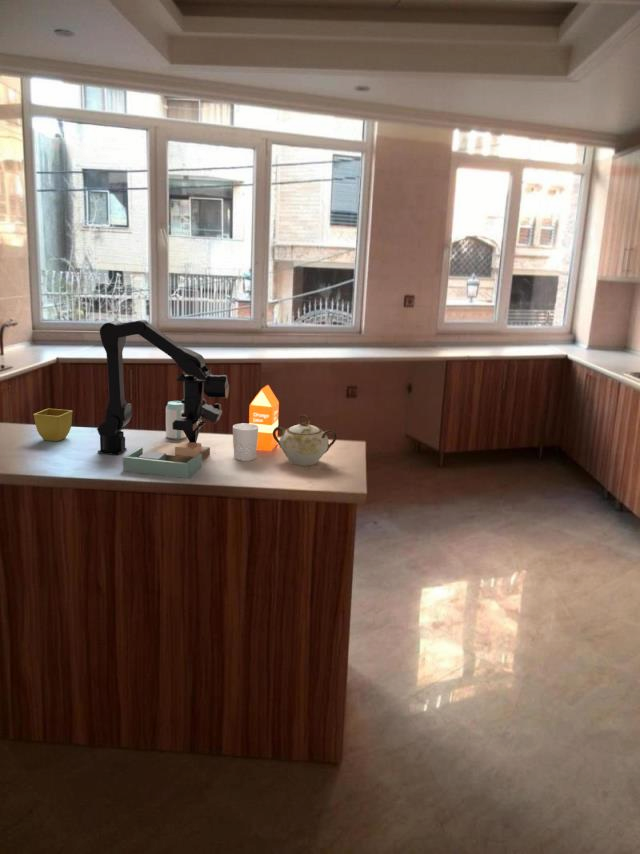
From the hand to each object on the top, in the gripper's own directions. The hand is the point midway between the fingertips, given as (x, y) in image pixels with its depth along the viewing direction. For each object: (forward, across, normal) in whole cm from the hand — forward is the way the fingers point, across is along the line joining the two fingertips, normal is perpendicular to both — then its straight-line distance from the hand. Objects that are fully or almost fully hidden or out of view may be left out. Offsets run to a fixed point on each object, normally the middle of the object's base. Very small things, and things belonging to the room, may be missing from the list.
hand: (193, 446), depth 202 cm
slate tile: (+3, -11, +8) cm, 14 cm away
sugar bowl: (+4, +7, -33) cm, 34 cm away
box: (+4, -13, +4) cm, 14 cm away
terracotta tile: (+1, -4, 0) cm, 4 cm away
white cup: (+4, +5, -15) cm, 16 cm away
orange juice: (+4, +19, -17) cm, 26 cm away
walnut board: (+4, -2, +4) cm, 6 cm away
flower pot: (+4, +3, +48) cm, 48 cm away
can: (+4, +19, +13) cm, 23 cm away
